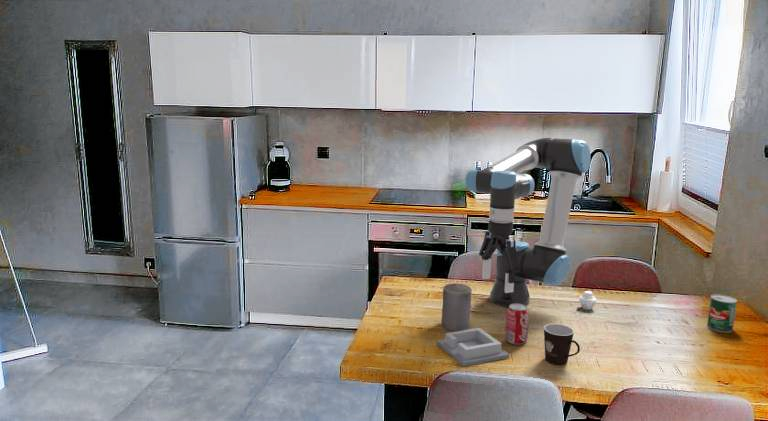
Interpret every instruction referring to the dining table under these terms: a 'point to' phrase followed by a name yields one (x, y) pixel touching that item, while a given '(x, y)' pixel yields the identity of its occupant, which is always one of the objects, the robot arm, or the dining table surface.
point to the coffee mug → (558, 343)
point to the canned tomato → (721, 313)
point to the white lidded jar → (587, 300)
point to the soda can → (517, 324)
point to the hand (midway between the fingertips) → (497, 285)
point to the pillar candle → (456, 307)
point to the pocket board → (472, 347)
